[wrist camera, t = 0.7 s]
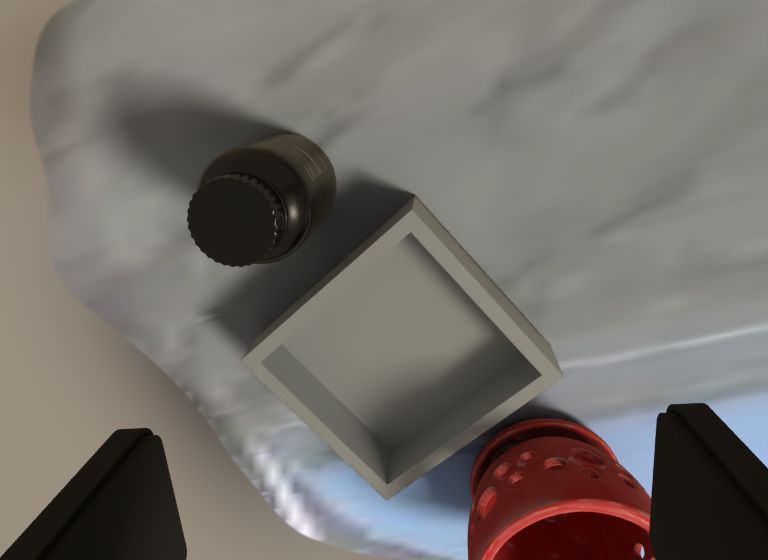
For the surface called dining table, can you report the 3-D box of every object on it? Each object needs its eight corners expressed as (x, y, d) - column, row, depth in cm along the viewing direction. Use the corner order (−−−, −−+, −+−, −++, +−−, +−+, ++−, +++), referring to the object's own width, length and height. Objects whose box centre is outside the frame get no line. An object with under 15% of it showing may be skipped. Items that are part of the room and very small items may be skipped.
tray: (415, 194, 39) (412, 209, 35) (549, 344, 42) (563, 376, 37) (261, 331, 44) (240, 361, 39) (391, 458, 47) (386, 500, 42)
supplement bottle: (229, 147, 40) (145, 172, 28) (321, 120, 38) (271, 135, 27) (261, 240, 42) (195, 297, 30) (350, 217, 40) (315, 268, 29)
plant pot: (602, 546, 48) (653, 690, 36) (448, 516, 48) (451, 648, 37) (652, 415, 43) (728, 532, 32) (482, 382, 44) (497, 487, 32)
